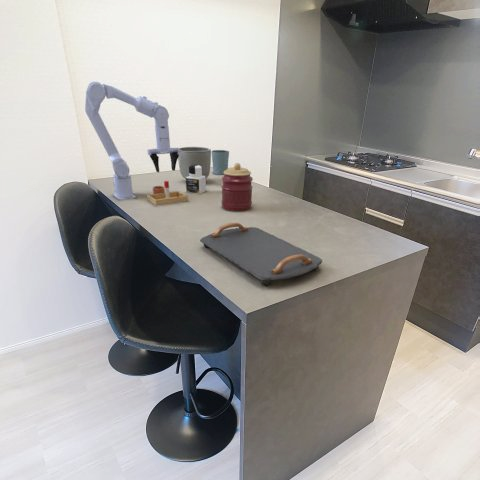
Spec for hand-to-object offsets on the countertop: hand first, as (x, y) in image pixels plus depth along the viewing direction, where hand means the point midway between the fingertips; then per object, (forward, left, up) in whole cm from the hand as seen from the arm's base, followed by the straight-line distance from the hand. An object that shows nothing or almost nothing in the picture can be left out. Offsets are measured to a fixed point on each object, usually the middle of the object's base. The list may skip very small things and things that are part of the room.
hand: (165, 171), depth 161 cm
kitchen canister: (+33, +18, -11) cm, 39 cm away
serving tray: (+81, -4, -11) cm, 82 cm away
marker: (+11, -4, -10) cm, 15 cm away
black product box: (+2, +14, -11) cm, 18 cm away
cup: (+2, -5, -10) cm, 12 cm away
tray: (+11, -4, -10) cm, 16 cm away
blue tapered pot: (-30, +46, -11) cm, 56 cm away
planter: (-17, +23, -11) cm, 31 cm away
